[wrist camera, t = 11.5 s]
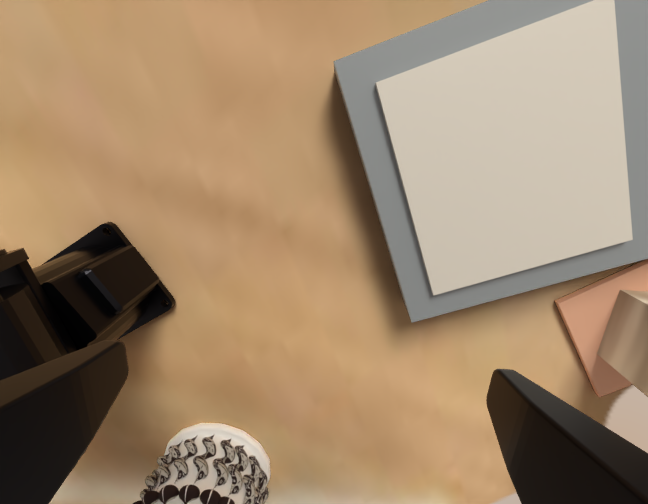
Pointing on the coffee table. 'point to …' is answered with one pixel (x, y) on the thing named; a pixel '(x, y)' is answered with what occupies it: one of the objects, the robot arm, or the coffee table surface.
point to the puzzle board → (505, 147)
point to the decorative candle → (210, 468)
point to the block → (628, 338)
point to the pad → (599, 322)
